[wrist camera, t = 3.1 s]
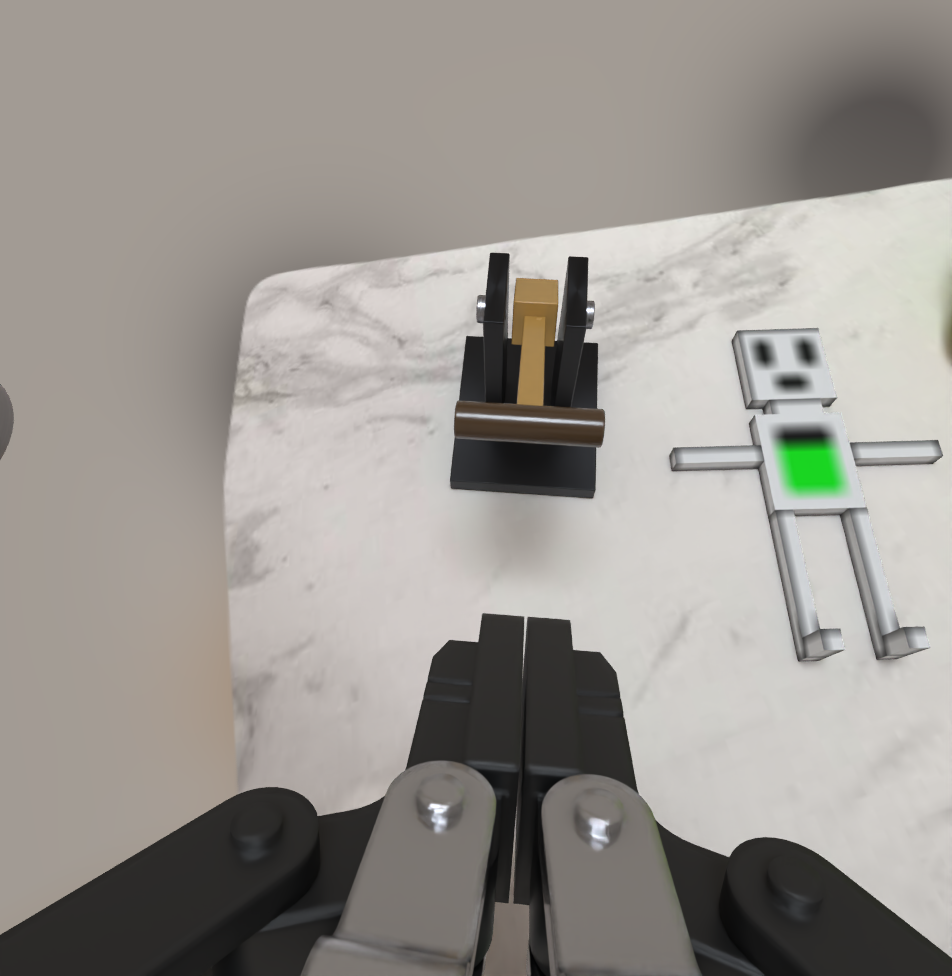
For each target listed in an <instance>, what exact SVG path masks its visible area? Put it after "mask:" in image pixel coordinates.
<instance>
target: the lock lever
mask: <svg viewBox="0 0 952 976" xmlns="http://www.w3.org/2000/svg"><path fill="white" fill-rule="evenodd" d="M557 312H558V280H546V279H526V278H516V285H515V294H514V305H513V325H512V344H515V345H522V346H521V358H520V371H519V383H518V395H517V404H508V403H491V402H475V401H457V403H456V408H455V418H454V435H455V438H458V439H474V440H489V441H505V442H520V443H536V444H551V445H567V446H583V447H598V448H599V447H601V446H602V443H603V438H604V429H605V412H604V410H603V409H590V408H573V407H557V406H543V400H544V365H545V346H551V347H554V342H555V332H556V322H557Z"/></svg>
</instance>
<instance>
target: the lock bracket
mask: <svg viewBox="0 0 952 976" xmlns="http://www.w3.org/2000/svg"><path fill="white" fill-rule="evenodd" d="M509 257H510V255H509V254H508V253H490V259H489V269H488V279H487V289H486V296H485V295H479V296H478V299H477V313H476V319H477V323H483V335H484V337H474V336H466V344H465V352H464V361H463V370H462V379H461V388H460V397H459V401H475V402H491V403H508V404H517V395H518V383H519V371H520V358H521V346H522V345H515V344H512V339H510V338H508V298H509ZM587 288H588V257H569V258H568V265H567V273H566V280H565V287H564V295H563V302H562V310H561V317H560V325H559V332H558V340H557V341H555V342H554V347H551V346H545V365H544V400H543V406H557V407H573V408H590V409H597V371H598V343H584V337H585V332H586V329H592V327H593V321H594V311H595V303H594V301H587ZM450 483H451V488H455V489H469V490H484V491H498V492H513V493H528V494H542V495H557V496H571V497H586V498H593V496H594V493H595V483H596V447H583V446H567V445H551V444H536V443H520V442H505V441H489V440H474V439H458V438H455V441H454V450H453V459H452V468H451V477H450Z"/></svg>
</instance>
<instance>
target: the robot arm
mask: <svg viewBox="0 0 952 976" xmlns="http://www.w3.org/2000/svg"><path fill="white" fill-rule="evenodd" d="M523 641H524V617H522V616H510V615H497V614H485V613H483V614H482V620H481V627H480V634H479V642H467V641H455V640H449V641H448V642H447V643H446V644H445V645H444V646H443V647H442V648H441V649H440V650H439V651H438V652H437V653H436V654H435V655H434V656H433V659H432V663H431V667H430V671H429V675H428V682H427V684H426V688H425V692H424V698H423V700H422V704H421V709H420V713H419V717H418V721H417V725H416V729H415V734H414V738H413V742H412V746H411V750H410V754H409V758H408V763H407V767H406V770H405V771H404V772H402V773H401V774H400V775H399V776H398V777H397V778H396V779H394V781H393V782H392V783H391V785H390V786H389V788H388V790H387V793H386V795H385V796H384V797H383V798H381V799H380V800H378V801H376V802H374V803H372V804H370V805H367V806H365V807H362V808H359V809H354V810H350V811H345V812H339V813H334V814H328V815H322V816H317V812H316V810H315V808H314V806H313V805H312V804H311V803H310V801H309V800H308V799H306V798H305V797H304V796H303V795H301V794H299V793H297V792H295V791H292V790H289V789H285V788H278V787H266V788H258V789H253V790H249V791H246V792H243V793H240V794H238V795H236V796H234V797H232V798H230V799H228V800H226V801H224V802H223V803H221V804H219V805H218V806H216V807H214V808H213V809H211V810H209V811H208V812H206V813H204V814H203V815H201V816H199V817H198V818H196V819H194V820H193V821H191V822H189V823H187V824H186V825H184V826H182V827H181V828H179V829H178V830H176V831H174V832H172V833H171V834H169V835H167V836H166V837H164V838H162V839H161V840H159V841H157V842H156V843H154V844H152V845H151V846H149V847H147V848H146V849H144V850H142V851H140V852H139V853H137V854H135V855H134V856H132V857H130V858H129V859H127V860H125V861H124V862H122V863H120V864H119V865H117V866H115V867H114V868H112V869H110V870H109V871H107V872H105V873H103V874H102V875H100V876H98V877H97V878H95V879H93V880H92V881H90V882H88V883H87V884H85V885H83V886H82V887H80V888H78V889H77V890H75V891H73V892H72V893H70V894H68V895H67V896H65V897H63V898H62V899H60V900H58V901H56V902H55V903H53V904H51V905H50V906H48V907H46V908H45V909H43V910H41V911H40V912H38V913H36V914H35V915H33V916H31V917H30V918H28V919H26V920H25V921H23V922H21V923H20V924H18V925H16V926H14V927H13V928H11V929H9V930H8V931H6V932H4V933H3V934H1V935H0V976H484V970H485V962H486V953H487V951H488V949H489V947H490V944H491V941H492V934H493V923H494V909H495V902H501V903H509V891H510V879H511V866H512V854H513V842H514V830H515V818H516V842H515V872H514V901H513V903H514V904H523V905H529V940H528V950H527V961H526V972H527V976H952V958H951V957H950V956H948V955H947V954H946V953H945V952H943V951H942V950H941V949H939V948H938V947H937V946H936V945H934V944H933V943H932V942H930V941H929V940H928V939H927V938H925V937H924V936H923V935H922V934H920V933H919V932H918V931H916V930H915V929H914V928H913V927H911V926H910V925H909V924H908V923H906V922H905V921H904V920H902V919H901V918H900V917H899V916H897V915H896V914H895V913H894V912H892V911H891V910H890V909H888V908H887V907H886V906H885V905H883V904H882V903H881V902H879V901H878V900H877V899H876V898H874V897H873V896H872V895H871V894H869V893H868V892H867V891H865V890H864V889H863V888H862V887H860V886H859V885H858V884H857V883H855V882H854V881H853V880H851V879H850V878H849V877H848V876H846V875H845V874H844V873H843V872H841V871H840V870H839V869H837V868H836V867H835V866H834V865H832V864H831V863H830V862H828V861H827V860H826V859H824V858H823V857H821V856H820V855H819V854H817V853H815V852H813V851H812V850H810V849H808V848H806V847H804V846H801V845H799V844H797V843H794V842H790V841H787V840H783V839H778V838H767V837H763V838H755V839H751V840H748V841H745V842H744V843H742V844H740V845H739V846H738V847H736V848H735V849H734V851H733V852H732V854H731V855H730V857H727V856H724V855H721V854H718V853H716V852H713V851H710V850H708V849H705V848H702V847H700V846H697V845H694V844H692V843H690V842H687V841H685V840H683V839H681V838H679V837H677V836H676V835H674V834H672V833H671V832H669V831H668V830H667V829H665V828H664V827H663V826H662V825H660V824H659V823H658V822H657V821H656V820H655V818H654V815H653V813H652V811H651V809H650V807H649V806H648V804H647V803H646V802H645V800H644V799H643V798H642V797H641V796H640V795H639V794H638V790H637V786H636V780H635V774H634V769H633V763H632V758H631V752H630V747H629V741H628V736H627V730H626V724H625V719H624V718H623V708H622V702H621V699H620V691H619V685H618V680H617V674H616V672H615V670H614V669H613V668H612V667H611V665H610V664H609V663H608V662H607V660H606V659H605V658H604V657H603V655H602V654H601V653H600V652H590V651H578V650H573V646H572V634H571V623H570V620H562V619H549V618H537V617H528V619H527V629H526V642H525V654H524V667H523ZM522 674H523V679H522ZM516 806H517V812H516Z"/></svg>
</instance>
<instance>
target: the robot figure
mask: <svg viewBox="0 0 952 976" xmlns="http://www.w3.org/2000/svg"><path fill="white" fill-rule="evenodd" d="M732 343H733V348H734V353H735V358H736V362H737V367H738V372H739V377H740V382H741V387H742V391H743V396H744V401H745V406H746V409H755V408H763V412H764V415H754V417H753V418H752V420H751V421H750V423H749V425H750V430H751V435H752V440H753V445H751V446H716V447H681V448H673V450H672V452H671V454H670V462H671V469H672V471H687V470H723V469H759V474H760V478H761V483H762V488H763V493H764V498H765V503H766V507H767V512H768V517H769V522H770V527H771V532H772V536H773V541H774V546H775V551H776V556H777V561H778V565H779V570H780V575H781V580H782V585H783V590H784V594H785V599H786V604H787V609H788V614H789V619H790V623H791V628H792V633H793V638H794V643H795V648H796V652H797V657H798V661H819V660H821V659H824V658H826V657H829V656H831V655H833V654H836V653H838V652H841V651H843V650H845V647H844V643H843V639H842V634H841V630H840V629H820V626H819V621H818V617H817V613H816V608H815V604H814V599H813V595H812V590H811V586H810V581H809V577H808V572H807V568H806V563H805V559H804V555H803V550H802V546H801V541H800V537H799V532H798V528H797V523H796V519H795V516H811V515H840V516H841V520H842V524H843V528H844V532H845V536H846V539H847V543H848V547H849V551H850V555H851V559H852V563H853V567H854V571H855V575H856V579H857V583H858V587H859V591H860V595H861V599H862V603H863V607H864V611H865V615H866V618H867V622H868V626H869V630H870V634H871V638H872V642H873V646H874V650H875V654H876V658H877V659H898V658H901V657H904V656H907V655H910V654H913V653H916V652H919V651H922V650H925V649H928V648H930V644H929V641H928V637H927V634H926V630H925V627H902V628H900V627H899V623H898V620H897V616H896V612H895V609H894V605H893V601H892V597H891V594H890V590H889V586H888V583H887V579H886V575H885V572H884V568H883V564H882V561H881V557H880V553H879V550H878V546H877V542H876V539H875V535H874V531H873V528H872V524H871V520H870V516H869V513H868V509H867V505H866V502H865V498H864V494H863V491H862V487H861V483H860V480H859V476H858V472H857V469H856V466H865V465H901V464H933V463H934V462H936V461H937V460H938V459H940V458H941V457H942V456H943V454H942V451H941V448H940V445H939V442H938V440H925V441H890V442H855V443H849V439H848V436H847V432H846V428H845V424H844V421H843V417H842V413H841V412H833V413H824V411H823V406H830V405H831V404H832V403H833V402H834V401H835V399H836V398H837V395H836V391H835V388H834V384H833V380H832V377H831V373H830V369H829V366H828V362H827V358H826V355H825V351H824V347H823V343H822V340H821V336H820V332H819V329H818V328H806V329H774V330H743V331H737V332H736V334H735V336H734V337H733V339H732Z"/></svg>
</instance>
